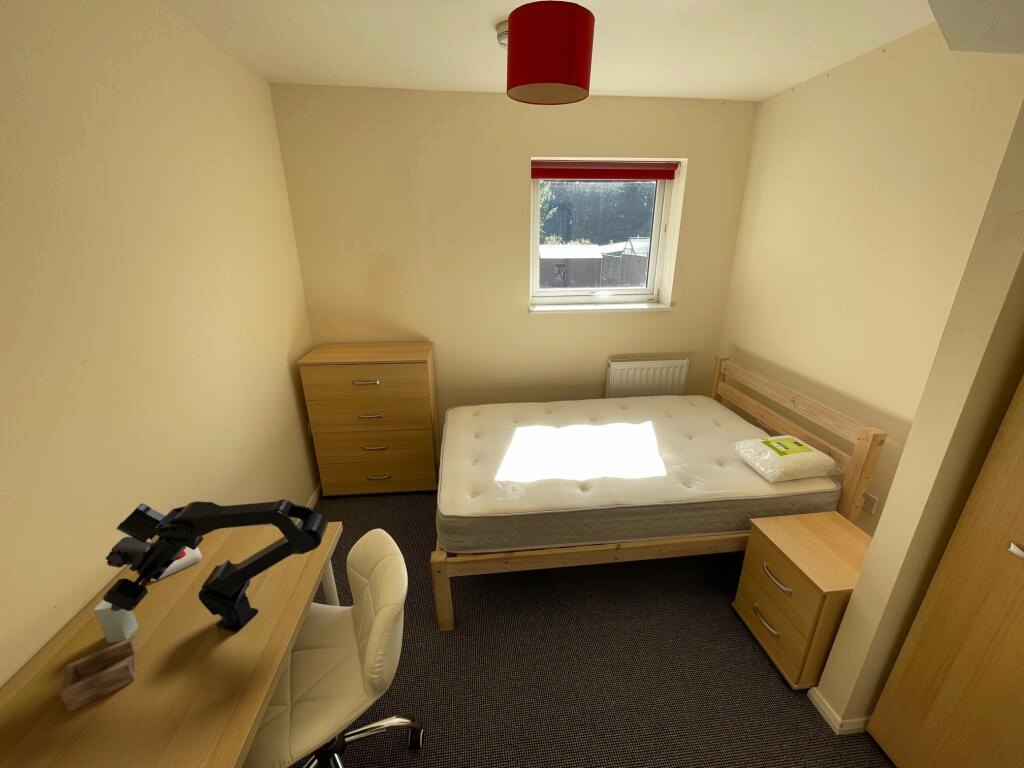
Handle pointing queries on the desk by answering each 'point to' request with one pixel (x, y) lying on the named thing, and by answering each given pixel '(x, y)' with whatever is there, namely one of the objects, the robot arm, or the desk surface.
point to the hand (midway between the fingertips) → (128, 593)
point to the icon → (182, 561)
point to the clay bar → (115, 622)
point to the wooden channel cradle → (98, 674)
